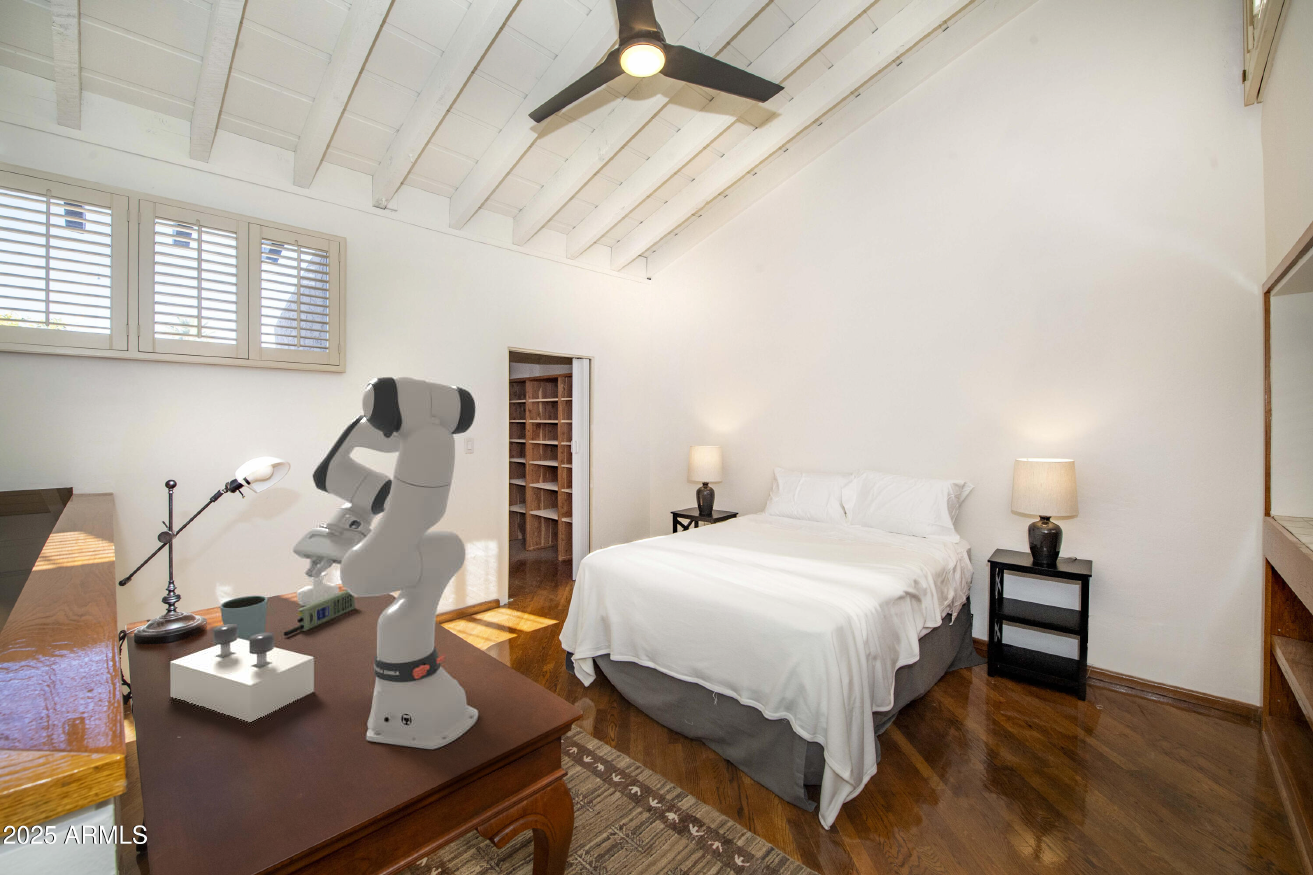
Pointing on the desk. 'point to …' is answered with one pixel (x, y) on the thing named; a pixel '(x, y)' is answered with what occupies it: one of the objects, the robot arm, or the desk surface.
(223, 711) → the control block
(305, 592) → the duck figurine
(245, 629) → the teal plant pot
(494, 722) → the desk surface
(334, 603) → the handheld radio
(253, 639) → the knob
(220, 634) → the knob
